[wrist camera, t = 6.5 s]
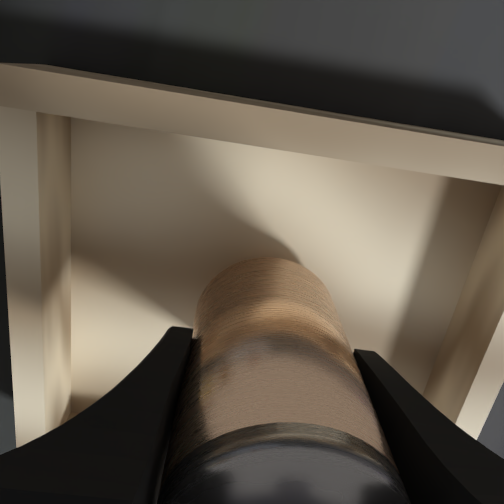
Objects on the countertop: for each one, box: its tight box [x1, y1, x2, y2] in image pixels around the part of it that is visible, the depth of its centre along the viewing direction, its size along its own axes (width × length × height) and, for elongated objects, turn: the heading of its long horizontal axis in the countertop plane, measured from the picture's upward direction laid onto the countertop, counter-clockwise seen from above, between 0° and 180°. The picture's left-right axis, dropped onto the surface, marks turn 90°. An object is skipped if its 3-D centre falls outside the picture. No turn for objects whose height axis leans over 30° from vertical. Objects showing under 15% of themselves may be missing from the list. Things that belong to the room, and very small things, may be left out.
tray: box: [0, 63, 504, 448], centre depth 15 cm, size 14×16×3 cm
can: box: [157, 257, 411, 504], centre depth 11 cm, size 5×5×8 cm
